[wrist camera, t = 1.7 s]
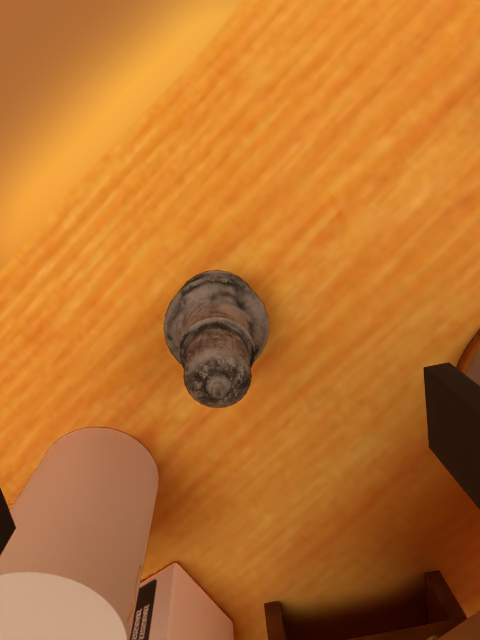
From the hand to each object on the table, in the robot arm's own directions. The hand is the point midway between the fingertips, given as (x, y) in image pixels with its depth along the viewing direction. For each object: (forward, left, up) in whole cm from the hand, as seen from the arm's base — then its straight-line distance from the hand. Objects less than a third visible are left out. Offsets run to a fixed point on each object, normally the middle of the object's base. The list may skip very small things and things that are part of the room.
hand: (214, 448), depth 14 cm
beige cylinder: (+10, +10, -16) cm, 22 cm away
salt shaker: (0, 0, -16) cm, 16 cm away
